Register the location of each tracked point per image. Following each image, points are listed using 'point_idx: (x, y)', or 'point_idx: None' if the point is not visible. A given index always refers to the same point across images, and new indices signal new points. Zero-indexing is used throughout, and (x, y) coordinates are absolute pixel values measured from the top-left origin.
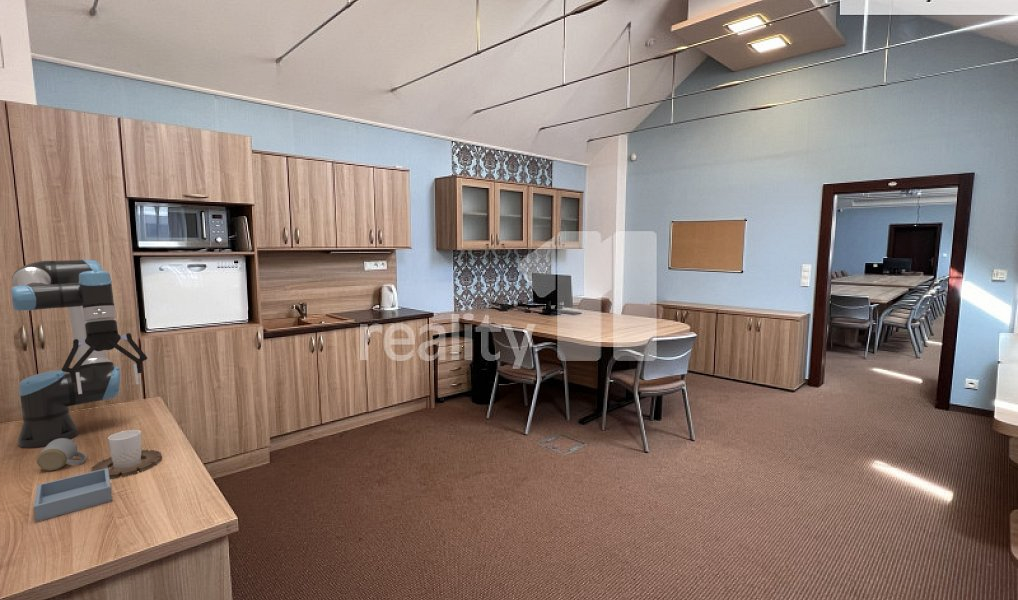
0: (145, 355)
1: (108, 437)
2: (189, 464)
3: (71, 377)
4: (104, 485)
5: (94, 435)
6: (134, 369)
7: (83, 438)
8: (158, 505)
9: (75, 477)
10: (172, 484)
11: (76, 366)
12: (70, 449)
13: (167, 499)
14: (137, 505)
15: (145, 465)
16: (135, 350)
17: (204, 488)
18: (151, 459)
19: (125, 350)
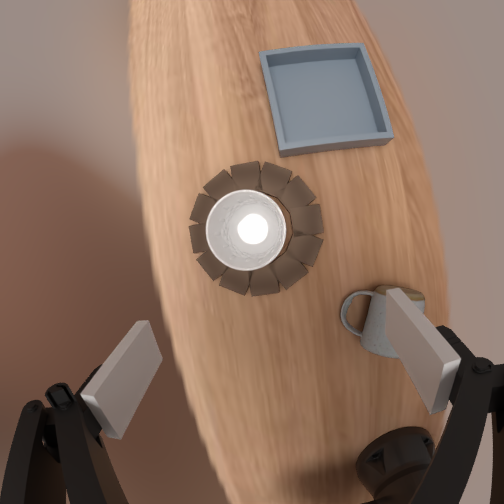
0: (20, 418)
1: (284, 229)
2: (144, 165)
3: (463, 347)
4: (283, 126)
5: (332, 447)
6: (109, 371)
7: (349, 441)
8: (194, 28)
9: (335, 136)
10: (173, 86)
11: (474, 396)
12: (372, 319)
13: (182, 40)
14: (222, 37)
15: (216, 181)
16: (41, 478)
17: (135, 57)
18: (207, 213)
19: (74, 496)
